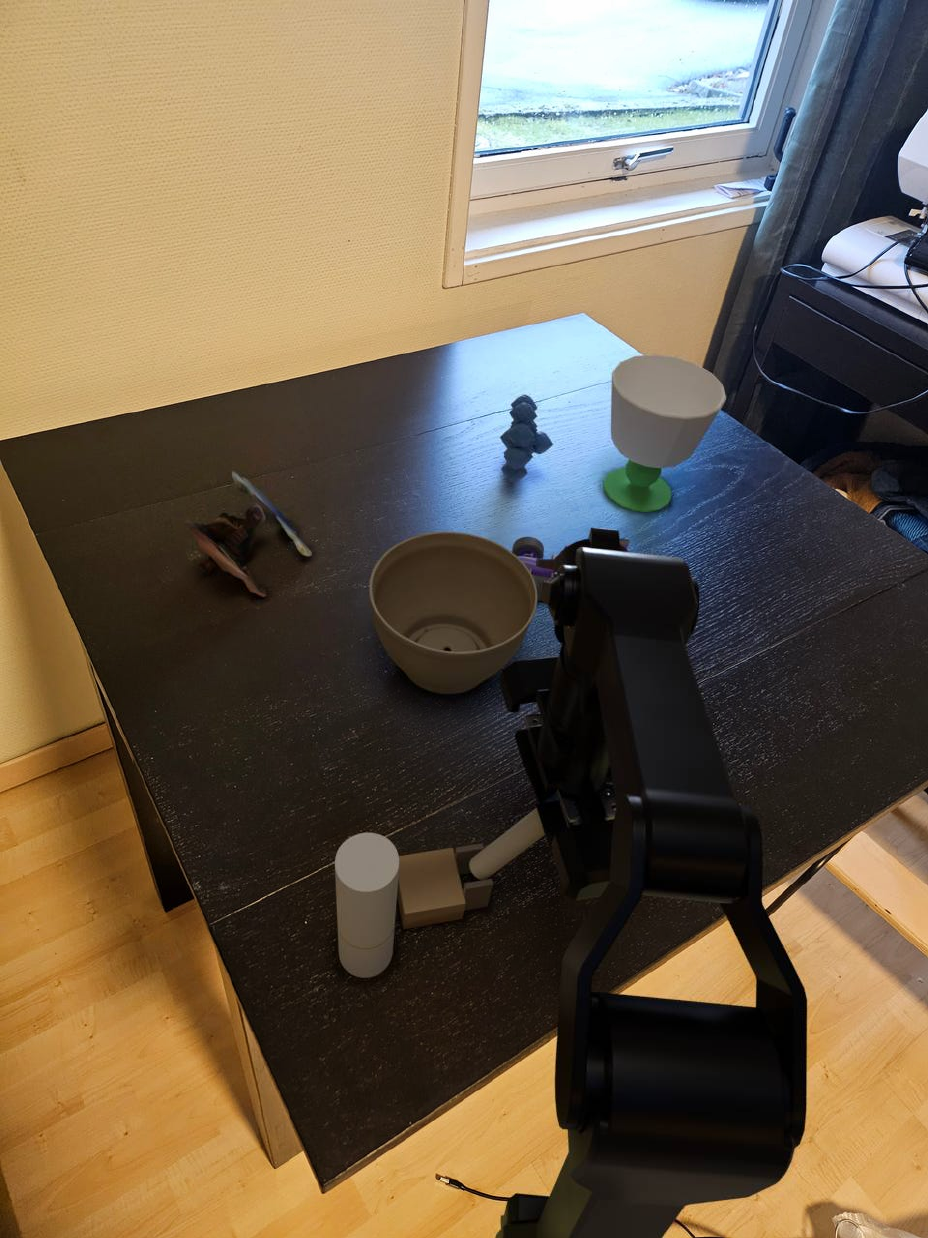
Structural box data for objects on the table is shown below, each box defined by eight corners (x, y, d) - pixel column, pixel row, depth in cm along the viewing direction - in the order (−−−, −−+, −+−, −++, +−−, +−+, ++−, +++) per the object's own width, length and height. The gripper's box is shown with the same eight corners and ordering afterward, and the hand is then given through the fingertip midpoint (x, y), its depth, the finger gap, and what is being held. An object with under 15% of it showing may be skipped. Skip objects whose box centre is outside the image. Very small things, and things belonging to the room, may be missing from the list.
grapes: (543, 510, 108) (559, 430, 99) (490, 503, 108) (502, 422, 99) (547, 456, 116) (562, 377, 107) (497, 449, 116) (509, 370, 107)
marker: (577, 817, 65) (558, 813, 64) (491, 882, 70) (471, 879, 69) (569, 793, 66) (550, 788, 65) (485, 859, 71) (466, 855, 70)
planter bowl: (339, 685, 86) (337, 611, 78) (411, 586, 97) (416, 512, 89) (485, 748, 83) (499, 677, 75) (543, 637, 93) (561, 565, 85)
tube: (368, 989, 66) (369, 904, 55) (327, 954, 68) (321, 865, 57) (403, 946, 69) (412, 857, 58) (363, 914, 70) (364, 821, 59)
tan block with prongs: (489, 914, 71) (495, 891, 68) (403, 930, 70) (405, 907, 67) (475, 859, 74) (481, 835, 71) (393, 873, 73) (394, 849, 70)
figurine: (311, 556, 105) (231, 486, 102) (343, 519, 98) (258, 444, 96) (241, 633, 94) (150, 556, 92) (272, 597, 88) (175, 514, 86)
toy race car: (496, 549, 102) (502, 507, 97) (620, 568, 102) (633, 526, 97) (488, 606, 95) (494, 564, 91) (621, 626, 95) (635, 584, 90)
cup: (672, 458, 118) (706, 354, 106) (702, 524, 109) (743, 418, 97) (575, 458, 116) (599, 352, 104) (598, 525, 107) (627, 417, 95)
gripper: (766, 810, 52) (693, 920, 63) (654, 592, 64) (610, 717, 75) (591, 839, 49) (549, 948, 61) (510, 607, 61) (487, 733, 73)
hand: (553, 825), depth 67 cm, fingers closed on marker, 2 cm apart
